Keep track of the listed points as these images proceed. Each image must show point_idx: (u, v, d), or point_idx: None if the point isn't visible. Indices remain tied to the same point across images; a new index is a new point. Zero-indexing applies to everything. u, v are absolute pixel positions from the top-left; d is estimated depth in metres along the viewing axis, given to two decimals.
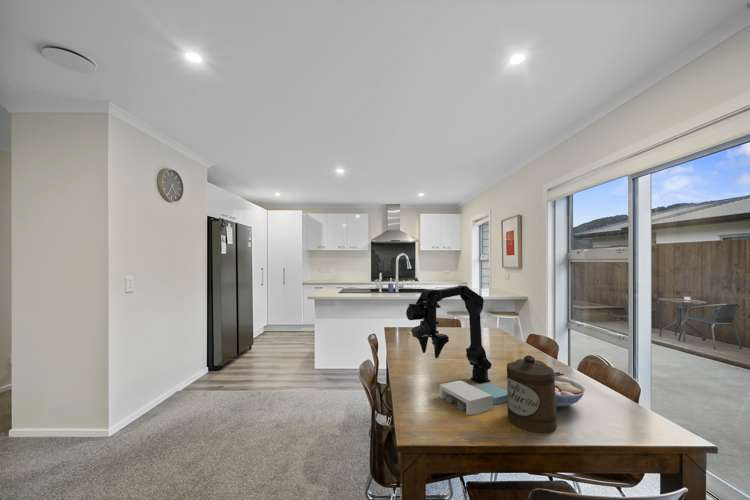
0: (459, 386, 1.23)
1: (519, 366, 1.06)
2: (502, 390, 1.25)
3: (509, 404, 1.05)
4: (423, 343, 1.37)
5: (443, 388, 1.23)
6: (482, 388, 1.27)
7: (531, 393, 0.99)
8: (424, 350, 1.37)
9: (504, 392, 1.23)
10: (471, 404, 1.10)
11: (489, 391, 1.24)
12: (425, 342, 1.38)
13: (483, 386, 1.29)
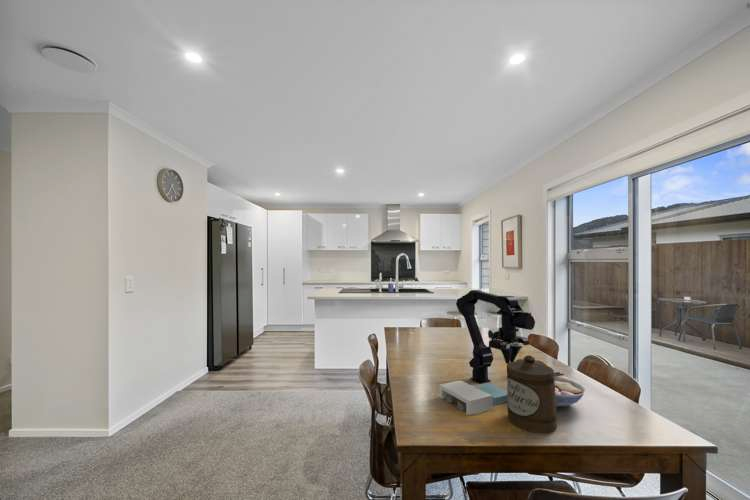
0: (459, 386, 1.23)
1: (519, 366, 1.06)
2: (502, 390, 1.25)
3: (509, 404, 1.05)
4: (511, 353, 1.32)
5: (443, 388, 1.23)
6: (482, 388, 1.27)
7: (531, 393, 0.99)
8: (511, 360, 1.31)
9: (504, 392, 1.23)
10: (471, 404, 1.10)
11: (489, 391, 1.24)
12: (513, 352, 1.31)
13: (483, 386, 1.29)
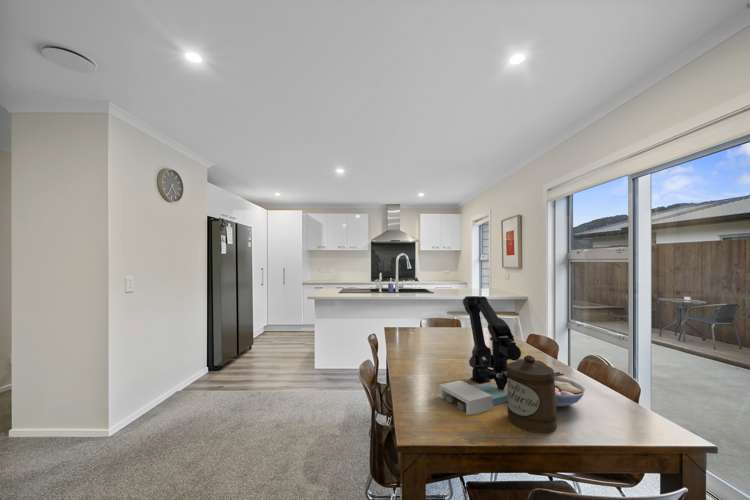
0: (459, 386, 1.23)
1: (519, 366, 1.06)
2: (499, 391, 1.25)
3: (509, 404, 1.05)
4: None
5: (443, 388, 1.23)
6: None
7: (531, 393, 0.99)
8: (500, 389, 1.27)
9: (501, 393, 1.23)
10: (471, 404, 1.10)
11: (486, 392, 1.24)
12: None
13: (480, 387, 1.29)
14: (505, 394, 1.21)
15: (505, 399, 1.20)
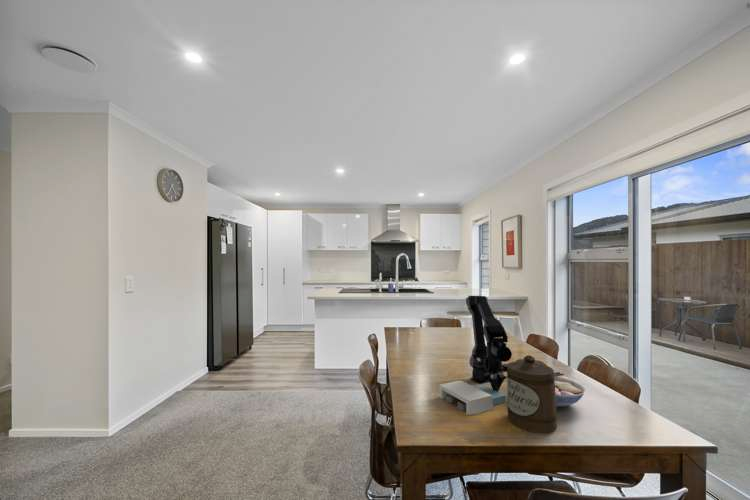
0: (459, 386, 1.23)
1: (519, 366, 1.06)
2: (494, 392, 1.23)
3: (509, 404, 1.05)
4: None
5: (443, 388, 1.23)
6: None
7: (531, 393, 0.99)
8: (495, 390, 1.26)
9: (496, 394, 1.21)
10: (471, 404, 1.10)
11: None
12: None
13: None
14: (499, 395, 1.20)
15: (499, 400, 1.19)
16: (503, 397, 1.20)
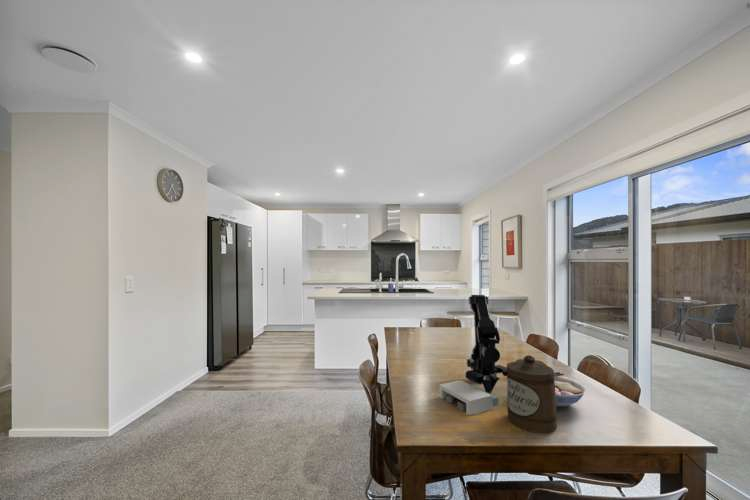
0: (459, 386, 1.23)
1: (519, 366, 1.06)
2: None
3: (509, 404, 1.05)
4: None
5: (443, 388, 1.23)
6: None
7: (531, 393, 0.99)
8: (488, 392, 1.24)
9: None
10: (471, 404, 1.10)
11: None
12: None
13: None
14: (492, 397, 1.18)
15: (492, 402, 1.17)
16: (496, 399, 1.18)
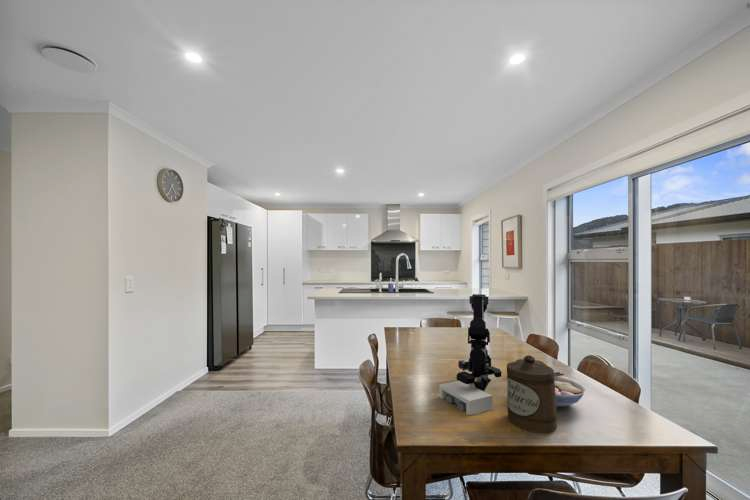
0: (459, 386, 1.23)
1: (519, 366, 1.06)
2: None
3: (509, 404, 1.05)
4: None
5: (443, 388, 1.23)
6: None
7: (531, 393, 0.99)
8: None
9: None
10: (471, 404, 1.10)
11: None
12: None
13: None
14: None
15: None
16: None
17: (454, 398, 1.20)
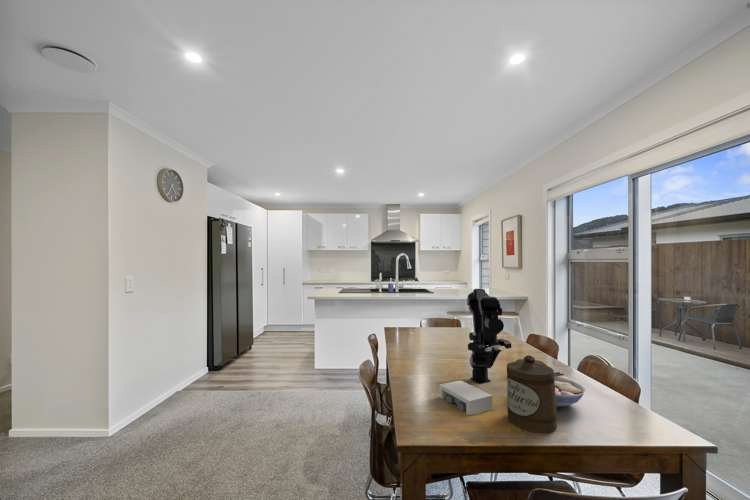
0: (459, 386, 1.23)
1: (519, 366, 1.06)
2: None
3: (509, 404, 1.05)
4: None
5: (443, 388, 1.23)
6: None
7: (531, 393, 0.99)
8: None
9: None
10: (471, 404, 1.10)
11: None
12: None
13: None
14: None
15: None
16: None
17: (454, 398, 1.20)
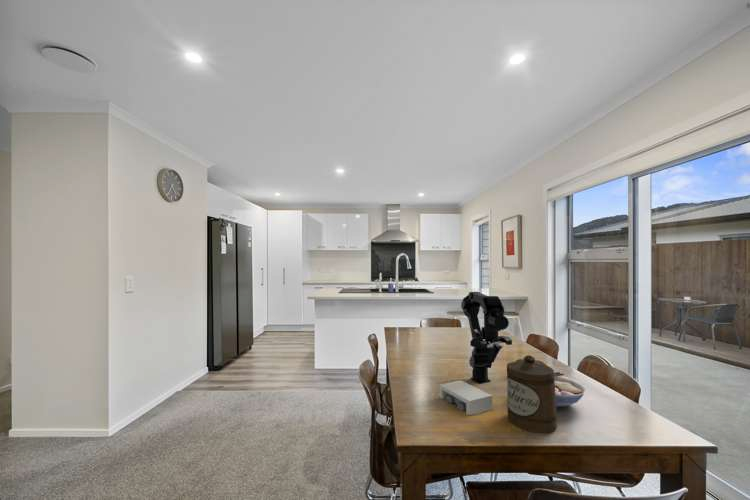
0: (459, 386, 1.23)
1: (519, 366, 1.06)
2: None
3: (509, 404, 1.05)
4: None
5: (443, 388, 1.23)
6: None
7: (531, 393, 0.99)
8: None
9: None
10: (471, 404, 1.10)
11: None
12: None
13: None
14: None
15: None
16: None
17: (454, 398, 1.20)
